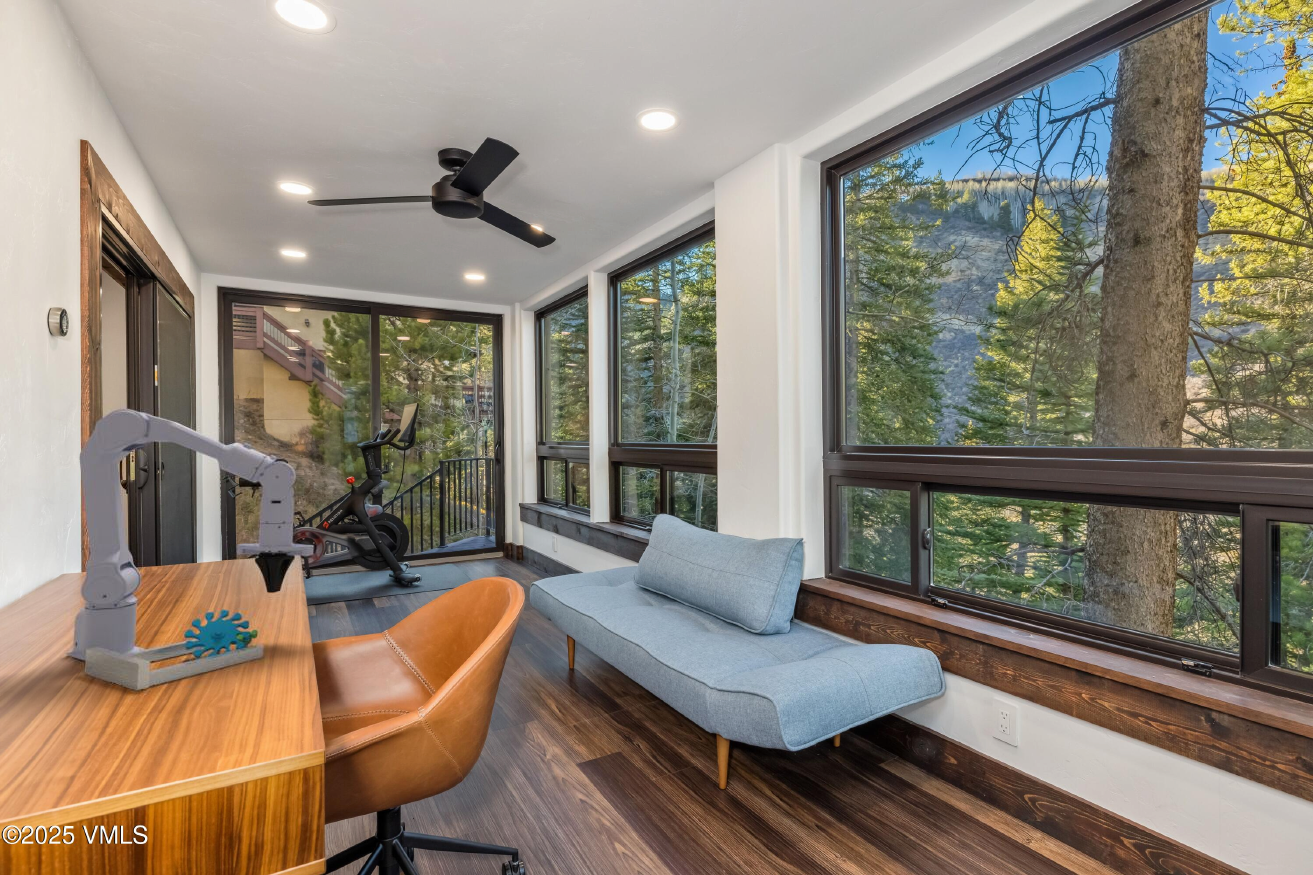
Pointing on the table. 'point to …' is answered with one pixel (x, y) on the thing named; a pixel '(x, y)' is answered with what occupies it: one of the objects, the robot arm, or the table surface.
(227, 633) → the gear
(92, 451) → the robot arm
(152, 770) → the table surface
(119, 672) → the rail dock
